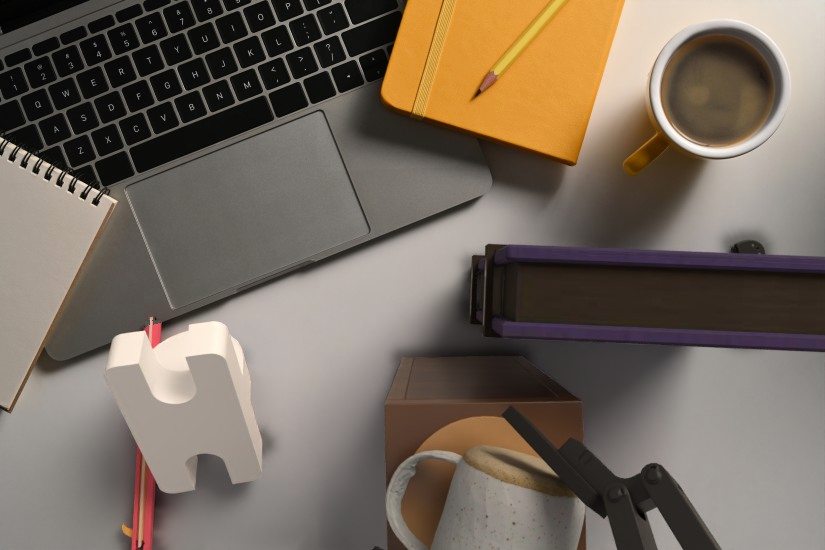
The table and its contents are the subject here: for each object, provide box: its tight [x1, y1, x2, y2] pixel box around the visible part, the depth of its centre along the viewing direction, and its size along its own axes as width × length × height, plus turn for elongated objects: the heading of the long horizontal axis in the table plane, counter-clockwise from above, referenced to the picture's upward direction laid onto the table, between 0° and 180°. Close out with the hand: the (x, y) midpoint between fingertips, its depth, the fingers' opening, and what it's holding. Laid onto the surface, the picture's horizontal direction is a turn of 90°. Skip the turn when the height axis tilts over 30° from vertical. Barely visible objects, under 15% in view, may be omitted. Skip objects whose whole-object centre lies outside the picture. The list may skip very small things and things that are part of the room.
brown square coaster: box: [383, 396, 588, 550], centre depth 42 cm, size 12×12×2 cm
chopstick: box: [121, 316, 162, 550], centre depth 69 cm, size 24×2×5 cm
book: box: [468, 243, 825, 353], centre depth 54 cm, size 24×6×30 cm, turn 88°
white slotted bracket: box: [103, 320, 263, 494], centre depth 65 cm, size 10×18×11 cm
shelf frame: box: [385, 355, 577, 401], centre depth 56 cm, size 12×12×26 cm
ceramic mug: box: [384, 445, 586, 550], centre depth 38 cm, size 11×8×8 cm
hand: (450, 487), depth 37 cm, fingers closed on ceramic mug, 10 cm apart
